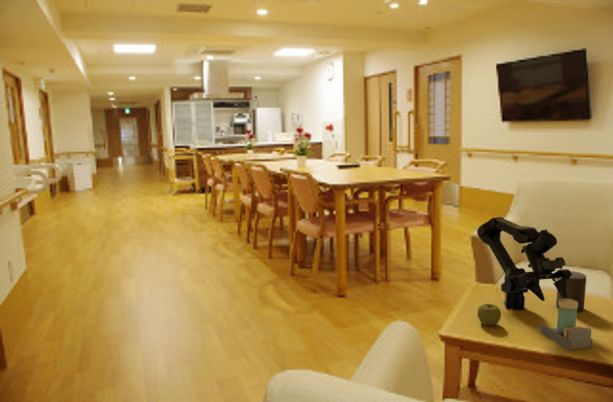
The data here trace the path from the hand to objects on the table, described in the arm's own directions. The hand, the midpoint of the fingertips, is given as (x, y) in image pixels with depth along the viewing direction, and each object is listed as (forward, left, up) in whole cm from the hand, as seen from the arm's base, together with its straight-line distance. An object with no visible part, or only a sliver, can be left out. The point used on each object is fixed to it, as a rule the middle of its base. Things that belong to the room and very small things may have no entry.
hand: (554, 299), depth 170 cm
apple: (-21, +2, -12) cm, 24 cm away
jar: (+2, -6, -11) cm, 13 cm away
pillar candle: (+12, +22, -12) cm, 28 cm away
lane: (+2, -6, -12) cm, 13 cm away
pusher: (+4, -10, -11) cm, 15 cm away
